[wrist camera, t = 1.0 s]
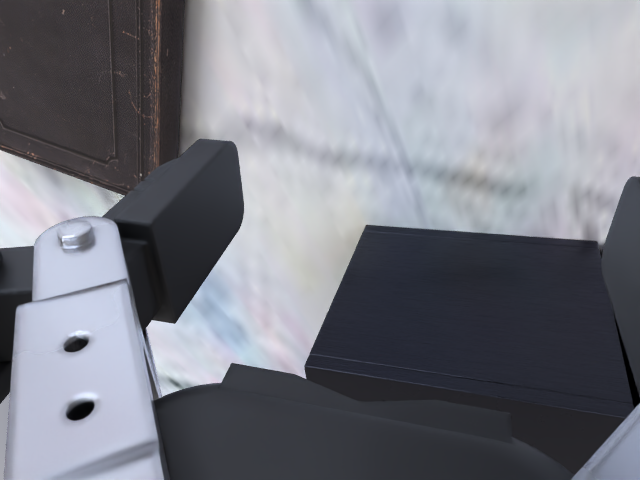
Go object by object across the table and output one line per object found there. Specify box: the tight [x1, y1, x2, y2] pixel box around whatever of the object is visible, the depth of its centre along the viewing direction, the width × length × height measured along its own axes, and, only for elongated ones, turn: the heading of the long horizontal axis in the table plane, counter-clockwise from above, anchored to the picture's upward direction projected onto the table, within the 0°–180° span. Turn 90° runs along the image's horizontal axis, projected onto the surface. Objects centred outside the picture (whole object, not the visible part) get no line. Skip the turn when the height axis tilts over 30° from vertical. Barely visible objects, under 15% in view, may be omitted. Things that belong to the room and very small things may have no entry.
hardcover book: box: [0, 0, 184, 196], centre depth 32 cm, size 16×23×2 cm
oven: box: [304, 225, 634, 475], centre depth 33 cm, size 14×18×13 cm
